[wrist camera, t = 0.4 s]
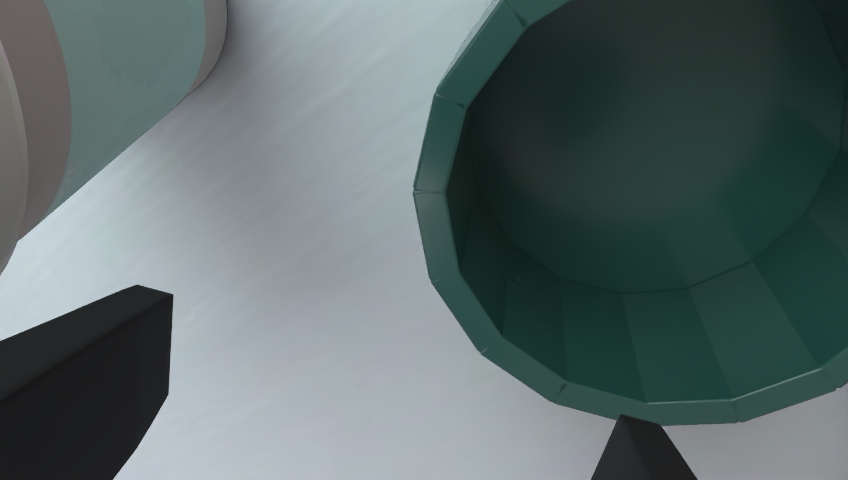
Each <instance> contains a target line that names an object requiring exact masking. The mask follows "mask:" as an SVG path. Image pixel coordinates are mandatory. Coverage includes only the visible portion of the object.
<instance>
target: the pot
mask: <svg viewBox="0 0 848 480" xmlns="http://www.w3.org/2000/svg"><path fill="white" fill-rule="evenodd" d="M413 188H414V190H413V197H414V203H415V208H416V213H417V218H418V223H419V228H420V233H421V239H422V244H423V249H424V254H425V259H426V264H427V269H428V275H429V278H430V280H431V283H432V284H433V286H434V287H435V289H436V290H437V292H438V293H439V294H440V296H441V297H442V299H443V300H444V302H445V303H446V305H447V306H448V308H449V309H450V311H451V312H452V314H453V315H454V316H455V318H456V319H457V321H458V322H459V324H460V325H461V327H462V328H463V330H464V331H465V333H466V334H467V335H468V337H469V338H470V340H471V341H472V343H473V344H474V346H475V347H476V349H477V350H478V351H479V352H480V354H481V355H483V356H484V357H486V358H487V359H489V360H490V361H492V362H493V363H494V364H496V365H497V366H499V367H500V368H502V369H503V370H505V371H506V372H508V373H509V374H511V375H512V376H514V377H515V378H516V379H518V380H519V381H521V382H522V383H524V384H525V385H527V386H528V387H530V388H531V389H533V390H534V391H536V392H537V393H538V394H540V395H541V396H543V397H544V398H546V399H547V400H549V401H550V402H553V403H555V404H558V405H562V406H566V407H569V408H573V409H577V410H580V411H584V412H588V413H591V414H595V415H599V416H602V417H606V418H610V419H613V420H618V418H619V416H620V414H623V415H627V416H631V417H634V418H638V419H642V420H646V421H649V422H653V423H657V424H660V426H671V425H699V424H726V423H737V422H738V421H739V422H745V421H748V420H751V419H754V418H757V417H760V416H763V415H766V414H768V413H771V412H774V411H777V410H780V409H783V408H786V407H789V406H792V405H795V404H798V403H801V402H804V401H807V400H810V399H813V398H815V397H818V396H821V395H824V394H827V393H830V392H833V391H835V390H836V388H841V387H842V386H843V385H845V384H846V383H848V0H493V1H492V3H491V4H490V6H489V7H488V8H487V9H486V11H485V12H484V14H483V15H482V17H481V18H480V20H479V21H478V23H477V24H476V25H475V27H474V28H473V30H472V31H471V32H470V34H469V35H468V37H467V38H466V39H465V41H464V42H463V44H462V45H461V47H460V48H459V50H458V52H457V54H456V55H455V57H454V59H453V61H452V62H451V64H450V66H449V68H448V69H447V71H446V73H445V75H444V76H443V78H442V80H441V82H440V83H439V85H438V87H437V89H436V92H435V94H434V96H433V101H432V105H431V110H430V114H429V118H428V123H427V127H426V132H425V136H424V140H423V145H422V149H421V154H420V158H419V162H418V167H417V171H416V176H415V180H414V184H413Z"/></svg>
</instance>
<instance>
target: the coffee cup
mask: <svg viewBox="0 0 848 480" xmlns="http://www.w3.org/2000/svg"><path fill="white" fill-rule="evenodd" d="M226 29H227V3H226V0H0V275H1V274H2V272H3V270H4V269H5V267H6V265H7V263H8V262H9V260H10V258H11V255H12V253H13V251H14V249H15V246H16V243H17V241H19V240H20V239H21V238H22V237H24V236H25V235H26V234H27V233H28V232H30V231H31V230H32V229H33V228H34V227H35V226H37V225H38V224H39V223H40V222H41V221H42V220H44V219H45V218H46V217H47V216H48V215H49V214H51V213H52V212H53V211H54V210H55V209H56V208H58V207H59V206H60V205H61V204H62V203H63V202H65V201H66V200H67V199H68V198H69V197H70V196H72V195H73V194H74V193H75V192H76V191H77V190H79V189H80V188H81V187H82V186H83V185H84V184H86V183H87V182H88V181H89V180H90V179H91V178H93V177H94V176H95V175H96V174H97V173H98V172H100V171H101V170H102V169H103V168H104V167H105V166H107V165H108V164H109V163H110V162H111V161H112V160H114V159H115V158H116V157H117V156H118V155H119V154H121V153H122V152H123V151H124V150H125V149H126V148H128V147H129V146H130V145H131V144H132V143H133V142H135V141H136V140H137V139H138V138H139V137H140V136H142V135H143V134H144V133H145V132H146V131H147V130H149V129H150V128H151V127H152V126H153V125H154V124H156V123H157V122H158V121H159V120H160V119H161V118H163V117H164V116H165V115H166V114H167V113H169V112H170V111H171V110H172V109H173V108H174V107H175V106H176V105H178V104H179V103H180V102H181V101H182V100H183V99H184V98H186V97H187V96H188V95H189V94H190V93H191V92H192V91H194V90H195V89H196V88H197V87H198V86H199V85H200V84H201V83H202V82H203V81H204V80H205V79H206V78H207V77H208V75H209V74H210V73H211V71H212V70H213V68H214V67H215V65H216V63H217V61H218V59H219V56H220V54H221V51H222V48H223V45H224V41H225V36H226Z"/></svg>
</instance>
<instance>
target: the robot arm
mask: <svg viewBox="0 0 848 480" xmlns="http://www.w3.org/2000/svg"><path fill="white" fill-rule="evenodd" d="M172 312H173V294H170V293H166V292H162V291H159V290H155V289H151V288H148V287H144V286H140V285H135V286H132V287H129V288H126V289H124V290H121V291H119V292H116V293H114V294H111V295H109V296H106V297H104V298H102V299H99V300H97V301H95V302H92V303H90V304H88V305H85V306H83V307H81V308H78V309H76V310H74V311H71V312H69V313H67V314H64V315H62V316H60V317H57V318H55V319H52V320H50V321H48V322H45V323H43V324H40V325H38V326H36V327H33V328H31V329H28V330H26V331H24V332H21V333H19V334H17V335H14V336H12V337H9V338H7V339H4V340H2V341H0V480H113V479H114V477H115V476H116V475H117V473H118V472H119V471H120V469H121V468H122V467H123V466H124V464H125V463H126V462H127V460H128V459H129V458H130V456H131V455H132V454H133V452H134V451H135V450H136V448H137V447H138V445H139V443H140V442H141V440H142V439H143V437H144V435H145V434H146V432H147V430H148V429H149V427H150V426H151V424H152V422H153V420H154V419H155V417H156V415H157V413H158V412H159V410H160V408H161V406H162V405H163V403H164V401H165V400H166V398H167V396H168V391H169V371H170V351H171V331H172ZM591 480H697V478H696V477H695V475H694V474H693V472H692V471H691V469H690V468H689V466H688V465H687V463H686V462H685V460H684V459H683V457H682V456H681V454H680V453H679V451H678V450H677V448H676V447H675V445H674V444H673V443H672V441H671V440H670V438H669V437H668V435H667V434H666V433H665V431H664V430H663V428H662V427H661V426H660V424H657V423H653V422H649V421H646V420H642V419H638V418H634V417H631V416H627V415H623V414H620V416H619V418H618V420H617V422H616V425H615V427H614V429H613V431H612V434H611V436H610V438H609V440H608V443H607V445H606V447H605V449H604V452H603V454H602V456H601V458H600V461H599V463H598V465H597V467H596V469H595V472H594V474H593V476H592V478H591Z"/></svg>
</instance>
